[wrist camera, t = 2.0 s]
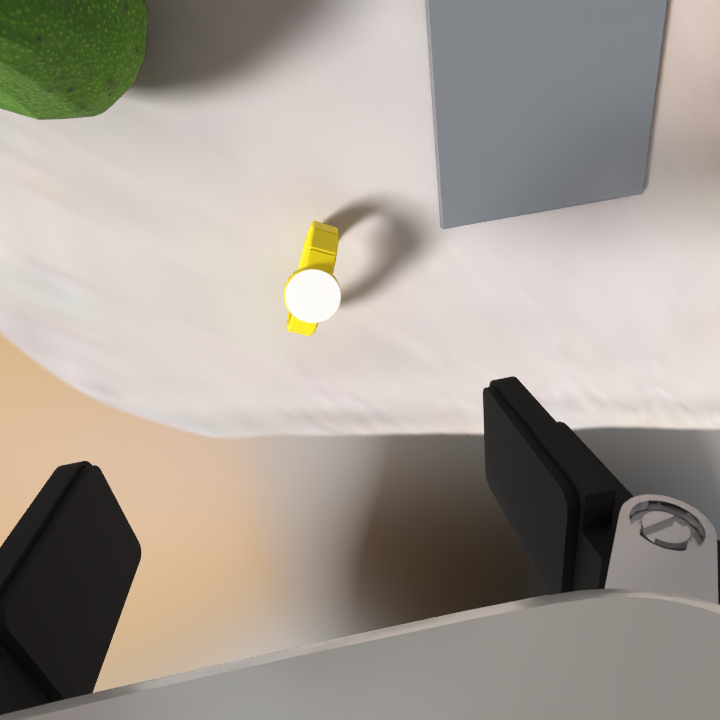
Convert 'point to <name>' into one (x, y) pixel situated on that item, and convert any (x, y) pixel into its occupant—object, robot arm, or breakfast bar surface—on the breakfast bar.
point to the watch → (313, 281)
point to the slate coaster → (540, 102)
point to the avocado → (69, 55)
